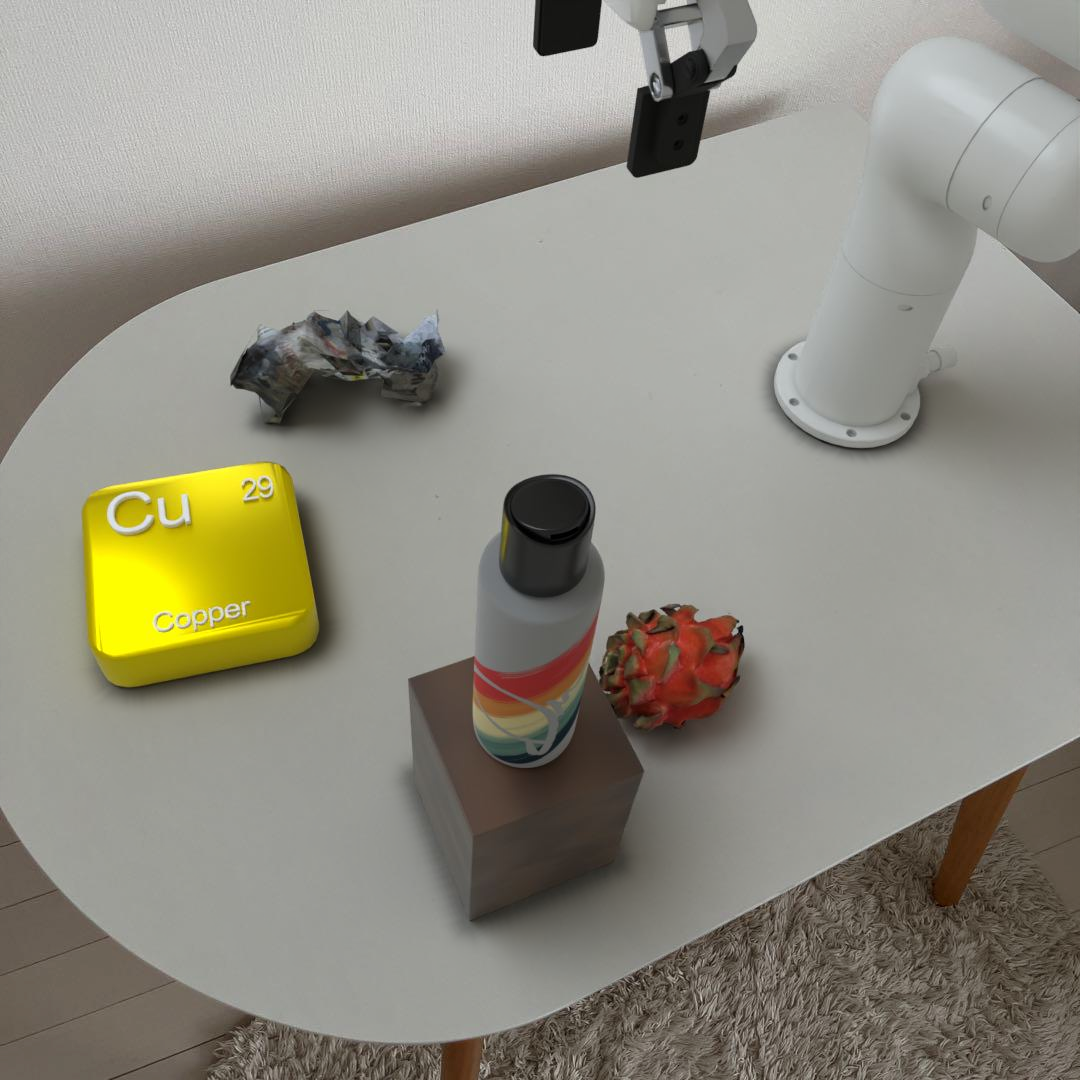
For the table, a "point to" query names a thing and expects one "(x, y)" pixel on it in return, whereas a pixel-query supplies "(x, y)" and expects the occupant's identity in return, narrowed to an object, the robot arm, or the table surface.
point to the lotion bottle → (536, 620)
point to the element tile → (196, 574)
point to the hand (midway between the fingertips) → (610, 105)
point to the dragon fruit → (671, 666)
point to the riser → (518, 794)
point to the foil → (339, 358)
